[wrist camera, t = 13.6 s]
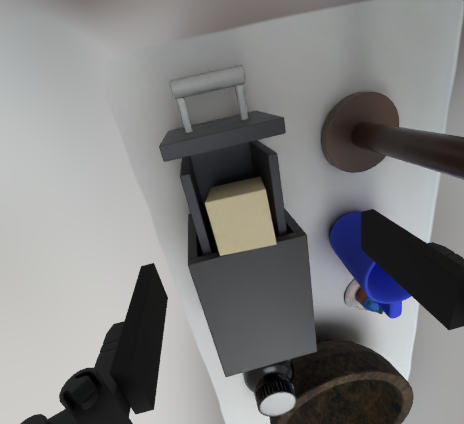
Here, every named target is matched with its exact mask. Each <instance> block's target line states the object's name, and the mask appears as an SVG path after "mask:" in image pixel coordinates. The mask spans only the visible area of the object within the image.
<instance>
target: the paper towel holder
mask: <svg viewBox="0 0 464 424" xmlns="http://www.w3.org/2000/svg"><path fill="white" fill-rule="evenodd" d="M321 144H322V149H323V152H324V155H325V157H326V158H327V160H328V161H329V162H330V163H331V164H332V165H333V166H335V167H337V168H339V169H341V170H343V171H346V172H352V173H355V172H362V171H366V170H368V169H370V168H372V167H374V166H376V165H377V164H378V163H380V162H381V161H382V160H383V159H384V158H385V157H386V156H389V157H392V158H396V159H399V160H402V161H405V162H409V163H412V164H415V165H418V166H421V167H425V168H428V169H431V170H434V171H438V172H441V173H444V174H448V175H451V176H454V177H457V178H461V179H463V180H464V137H459V136H452V135H446V134H440V133H433V132H427V131H420V130H414V129H407V128H401V127H399V116H398V112H397V109H396V107H395V105H394V104H393V102H392V101H391V100H390V99H389V98H387V97H386V96H384V95H382V94H380V93H375V92H361V93H356V94H353V95H350V96H348V97H346V98H345V99H343V100H342V101H341V102H339V103H338V104H337V105H336V106H335V107H334V108H333V110H332V111H331V112H330V114H329V115H328V117H327V119H326V121H325V123H324V126H323V130H322V137H321Z"/></svg>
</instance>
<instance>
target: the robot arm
mask: <svg viewBox="0 0 464 424" xmlns="http://www.w3.org/2000/svg"><path fill="white" fill-rule="evenodd" d="M361 250H362V251H363V252H365V253H366V254H367V255H368V256H369V257H370V258H371V259H372V260H373V261H374V262H375V263H377V264H378V265H379V266H380V267H381V268H382V269H383V270H384V271H385V272H386V273H387V274H388V275H390V276H391V277H392V278H393V279H394V280H395V281H396V282H397V283H398V284H399V285H400V286H401V287H403V288H404V289H405V290H406V291H407V292H408V293H409V294H410V295H411V296H412V297H413V298H414V299H416V300H417V301H418V302H419V303H420V304H421V305H422V306H423V307H424V308H425V309H426V310H427V311H429V312H430V313H431V314H432V315H433V316H434V317H435V318H436V319H437V320H438V321H439V322H441V323H442V324H443V325H444V326H445V327H446V328H447V329H448V330H452V329H455V328H459V327H462V326H464V259H463V257H461V256H459V255H458V254H455V253H454V252H453V251H451V250H449V249H448V248H446V247H444V246H442V245H438V244H435V243H433V242H432V243H428V244H427V243H425V242H424V241H422V240H421V239H419V238H417V237H416V236H414V235H413V234H411V233H410V232H408V231H406V230H405V229H403V228H402V227H400V226H399V225H397V224H395V223H394V222H392V221H391V220H389V219H388V218H386V217H385V216H383V215H381V214H380V213H378V212H377V211H375V210H374V209H371V210H367V211H363V212H361ZM167 300H168V297H167V295H166V292H165V290H164V287H163V285H162V282H161V280H160V277H159V275H158V272H157V270H156V267H155V265H154V263H153V264H149V265H145V266H141V269H140V272H139V276H138V279H137V282H136V286H135V289H134V292H133V295H132V299H131V302H130V305H129V309H128V312H127V315H126V319H125V321H124V322H120V323H116V324H114V325H113V326H112V327H111V328H110V330H109V331H108V333H107V334H106V337H105V339H104V342H103V346H102V348H101V350H100V354H99V356H98V359H97V362H96V364H95V367H94V368H86V369H83V370H80V371H79V372H77V373H76V374H74V375H73V376H72V377H71V378H70V379H69V380H68V381H67V382H66V383H65V385H64V386H63V387H62V389H61V392H60V395H59V398H60V402H61V403H62V405H63V406H64V407H65V408H66V409H65V410H63V411H61V412H60V413H58V414H56V415H54V416H53V417H51V418H49V419H47V418H46V417H45V416H44V415H42V414H39V415H34V416H31V417H29V418H27V419H26V420H25V421H23V422H22V423H21V424H132V422H131V420H130V419H129V413H130V408H132V410H133V411H134V413H135V414H139V413H143V412H146V411H150V410H154V404H155V396H156V388H157V380H158V371H159V364H160V355H161V348H162V340H163V331H164V323H165V316H166V308H167Z"/></svg>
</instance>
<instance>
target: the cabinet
mask: <svg viewBox="0 0 464 424" xmlns="http://www.w3.org/2000/svg"><path fill="white" fill-rule="evenodd" d="M284 212H285V220H286V228H287V235H283V236H279V237H275V238H276V243H277V244H276V245H271V246H267V247H262V248H257V249H252V250H247V251H242V252H237V253H232V254H227V255H222V256H220V254H219V252H216V253H213V254H209V255H205V256H204V255H203V252H202V249H201V245H200V242H199V239H198V235H197V232H196V229H195V225H194V222H193V219H192V215H191V214H188V267H189V270H190V273H191V276H192V279H193V282H194V284H195V287H196V290H197V293H198V296H199V299H200V302H201V305H202V308H203V311H204V314H205V317H206V320H207V323H208V326H209V329H210V332H211V335H212V338H213V341H214V344H215V347H216V350H217V353H218V356H219V359H220V362H221V365H222V368H223V371H224V374H225V376H226V377H228V376H232V375H235V374H239V373H242V372H246V371H250V370H253V369H257V368H260V367H264V366H267V365H271V364H274V363H278V362H282V361H285V360H289V359H292V358H296V357H299V356H303V355H306V354H310V353H313V352H317V344H316V333H315V322H314V310H313V299H312V288H311V277H310V266H309V255H308V244H307V235H306V233H305V232H304V231H303V230H302V229H301V227H300V226H299V225H298V224H297V223H296V221H295V220H294V219H293V218H292V217H291V215H290V214H289V213H288V212H287V211H286V210H285V208H284Z"/></svg>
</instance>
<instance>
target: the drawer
mask: <svg viewBox="0 0 464 424" xmlns="http://www.w3.org/2000/svg"><path fill="white" fill-rule="evenodd" d="M244 83H245V74H244V69H243V67H242V65H240V66H235V67H231V68H226V69H221V70H217V71H212V72H208V73H203V74H199V75H194V76H190V77H185V78H181V79H176V80H171V81H170V86H171V90H172V93H173V97H174V99H177V102H178V105H179V109H180V113H181V117H182V120H183V124H184V128H179V129H175V130H171V131H168V132H167V134H166V135H165V137H164V139H163V141H162V143H161V144H160V146H159V148H160V151H161V154H162V157H163V160H164V162H165V161H170V160H174V159H178V158H182V162H181V171H180V179H181V182H182V185H183V189H184V192H185V195H186V199H187V202H188V205H189V209H190V212H191V215H192V219H193V222H194V225H195V229H196V232H197V235H198V239H199V242H200V245H201V249H202V252H203V255H204V256H205V255H209V254H213V253H216V252H219V251H218V247H217V244H216V240H215V237H214V233H213V230H212V226H211V223H210V220H209V216H208V213H207V209H206V206H205V201H206V199H207V196H208V194H209V191H210V189H211V187H215V186H220V185H224V184H228V183H233V182H237V181H241V180H246V179H250V178H254V177H259V176H260V177H261V179H262V181H263V184H264V187H265V189H266V193H267V198H268V203H269V208H270V213H271V218H272V223H273V228H274V233H275V237H279V236H283V235H287V228H286V220H285V212H284V204H283V196H282V189H281V181H280V173H279V165H278V157H277V153H276V152H275V151H273V150H272V149H270V148H269V147H267V146H266V145H264V144H262V143H261V142H259V141H258V140H259V139H263V138H267V137H272V136H276V135H280V134H284V133H286V132H285V123H284V117H280V116H276V115H272V114H267V113H263V112H259V111H253V112H249V113H247V107H246V101H245V94H244V88H243V84H244ZM232 86H235V89H236V95H237V100H238V106H239V112H240V115H236V116H232V117H227V118H223V119H218V120H214V121H210V122H205V123H201V124H197V125H192V126H191V123H190V119H189V115H188V111H187V107H186V103H185V99H184V98H183V97H188V96H192V95H197V94H201V93H206V92H210V91H215V90H219V89H223V88H228V87H232Z"/></svg>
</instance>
